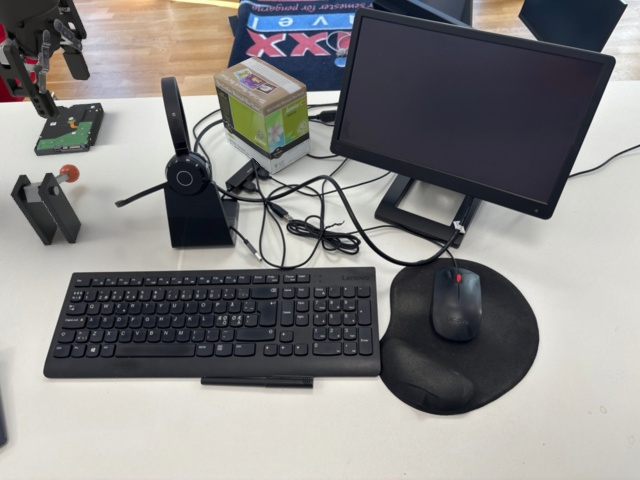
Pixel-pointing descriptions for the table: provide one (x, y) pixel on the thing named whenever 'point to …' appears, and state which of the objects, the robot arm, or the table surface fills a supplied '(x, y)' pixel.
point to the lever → (65, 174)
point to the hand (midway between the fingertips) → (67, 97)
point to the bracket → (41, 215)
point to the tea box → (264, 113)
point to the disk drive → (70, 130)
